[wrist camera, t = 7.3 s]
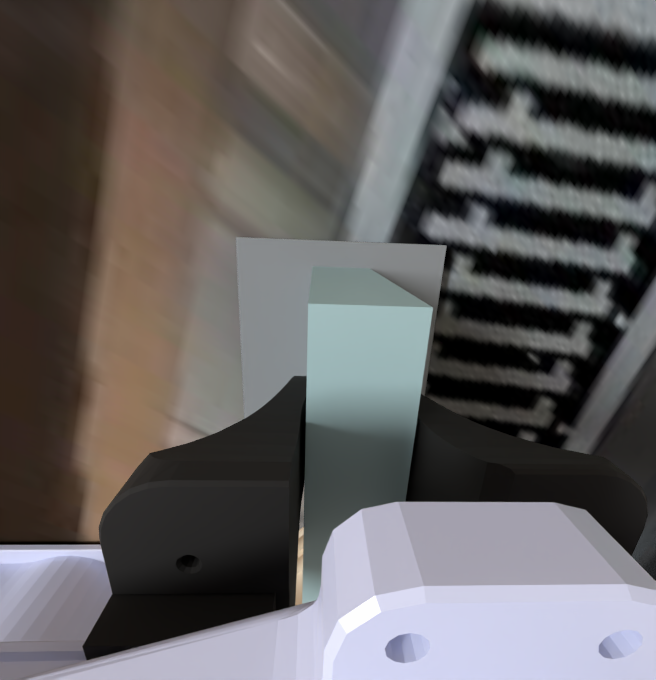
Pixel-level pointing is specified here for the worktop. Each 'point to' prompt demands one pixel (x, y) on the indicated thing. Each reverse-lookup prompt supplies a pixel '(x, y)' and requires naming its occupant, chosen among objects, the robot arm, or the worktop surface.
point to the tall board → (358, 400)
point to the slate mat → (293, 295)
